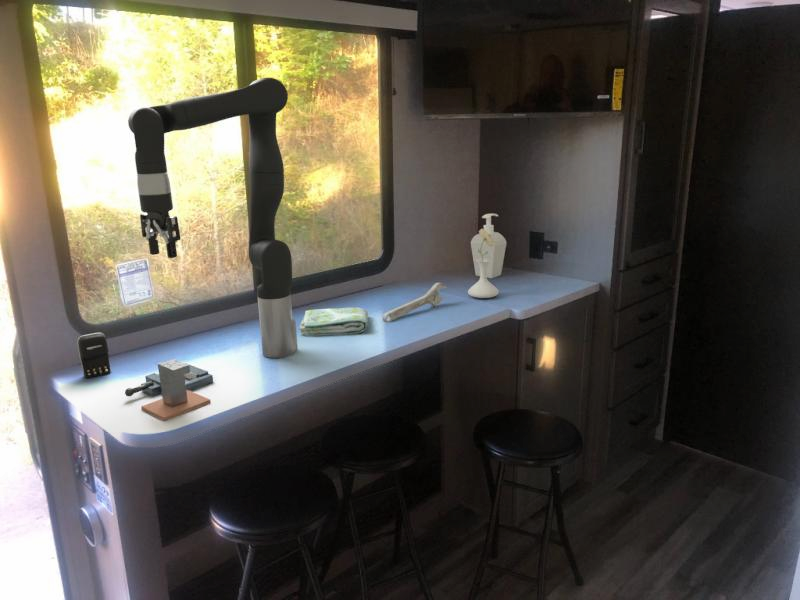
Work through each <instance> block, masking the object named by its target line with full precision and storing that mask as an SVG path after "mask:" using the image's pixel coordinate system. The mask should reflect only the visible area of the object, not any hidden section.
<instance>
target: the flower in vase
mask: <svg viewBox="0 0 800 600" xmlns="http://www.w3.org/2000/svg"><path fill="white" fill-rule="evenodd" d="M479 233H480V236H481V237H482V239H483V242H485V243H486V244H488V245H489V246H491V247H492V246H494V244H493V243H494V241H493V240H492V238H491V235H490V234H489V235H488V232H487V231H486V230H485V231H484V228H481V229H479V230H478V234H479ZM483 242H482V245H483ZM482 245H481V247H482ZM478 252H479V253H480V254H481V257H482V256H484V255H485V254H487V253H488V252H486V253H485V254H483V255H482V253H481V248H480V250H479V249H478ZM477 262H478V264H479V266H480V276H479V280H478V281H476V283H474V284H473V285H472V286H471V287H470V288H469V289H468V291H467V293H468V295H469V296H471V297H474V298H477V299H490V298H493V297H495V296H498V294H499V289H498V288H497V287H496V286H495V285H493V283H491V282H490V281H489V280H488V277H487V276H486V273H487V266H488V263H489V262H490V260H489V259H483V257H482V259H478V260H477Z"/></svg>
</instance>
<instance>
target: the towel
mask: <svg viewBox="0 0 800 600" xmlns="http://www.w3.org/2000/svg"><path fill="white" fill-rule="evenodd" d="M368 316H369V313H368V311H367V310H366V309H365V308H362V307H356V306H355V307H342V308H341V307H339V308H336V307H335V308H321V309H309V310H305V312H304V316H303V318H302V320H301V322H300V325H299V328H298V329H299V331H300V334H302V335H304V337H319V336H321V337H323V336H340V335H341V336H344V335H357V334H360V333H362V332H365V331H366V330H367V328H368V323H369V322H368V320H369V319H368Z"/></svg>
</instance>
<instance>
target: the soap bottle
mask: <svg viewBox="0 0 800 600" xmlns="http://www.w3.org/2000/svg"><path fill="white" fill-rule="evenodd" d="M493 216H494V217H499V215H498V214H497V213H485V214H484V215H482V216H481V219H485V224H483V230H484V231H485V230H486V231H487V232H488V235H489V234H490V235H491V238H492V240H493V241H494V243H493V244H494V246H492V247H491V246H489V245H488V244H486V243H485V242H483V239H482V237H481V236H480V233H479V232H478V233H477V234H476V235H474V236H473V237H472V238H471V241H470V248H471V253H472V259H473V261H472V262H473V266H474V271H475V274H474V275H475V276H477V277H480V266H479V264H478V262H477V260H478V259H482V257H483V259H489V260H490V262H489V263H488V266H487V273H486V276H487V279H494V278H496V277H500V276H501V275H502V272H503V271H502V270H503V265H504V259H505V253H506V248H507V240H506V238H505V237H504V236H503V235H502V234H501V233H500V232H497V231H494V229H495V228H494V224H492V217H493ZM482 242H483V245H482ZM481 245H482V247H481ZM480 248H481V253H482V255H483V254H485V253H486V252H488V253H487V254H485V255H484V256H482V257H481V254H480V253H479V252H478V249H479V250H480Z"/></svg>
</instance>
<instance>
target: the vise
mask: <svg viewBox="0 0 800 600" xmlns="http://www.w3.org/2000/svg"><path fill="white" fill-rule="evenodd" d="M185 363H186V362H185ZM186 364H188V363H186ZM188 365H189V367H190V372H189V373H187V374H184V377H185V379H187V380H188V381H185V385H186V390H189V391H191V392H193V391H195V390H197V389H199V388H201V387H205V386H208V385H210V384H213V383H214V377H213V376H214V375H213V374H210V373H209V371H207V370H204V369H201V368H200V367H197V366H194V365H192V364H188ZM139 392H142V393H145V394H147V395H148V396H151V397H155V396H157V395H160V394H161V395H162V391H161V384H160V377H159V373H151V374H148V375H145V382H142V383H140V385H139V386H136V387H134V388H132V387H128V388H126V389H125V391H124V395H125V396H126V397H132V396H134V394H136V393H139Z"/></svg>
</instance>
